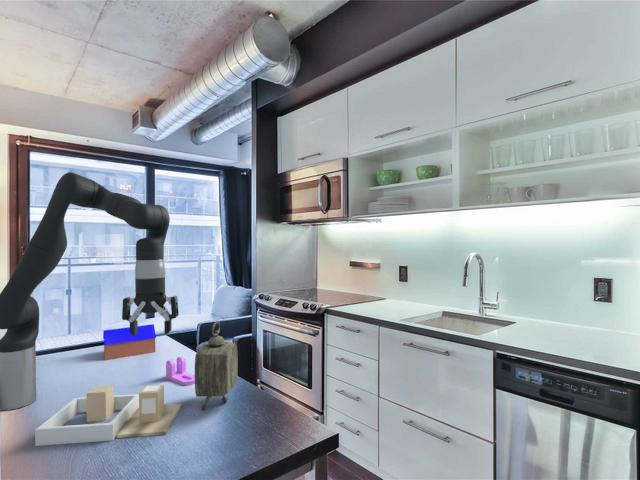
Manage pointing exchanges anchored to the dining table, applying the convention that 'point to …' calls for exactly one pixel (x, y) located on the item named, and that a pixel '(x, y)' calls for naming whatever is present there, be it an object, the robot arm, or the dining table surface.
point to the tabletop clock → (215, 368)
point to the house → (128, 342)
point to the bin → (60, 434)
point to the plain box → (100, 403)
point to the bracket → (179, 372)
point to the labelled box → (151, 404)
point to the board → (150, 423)
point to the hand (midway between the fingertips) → (151, 334)
